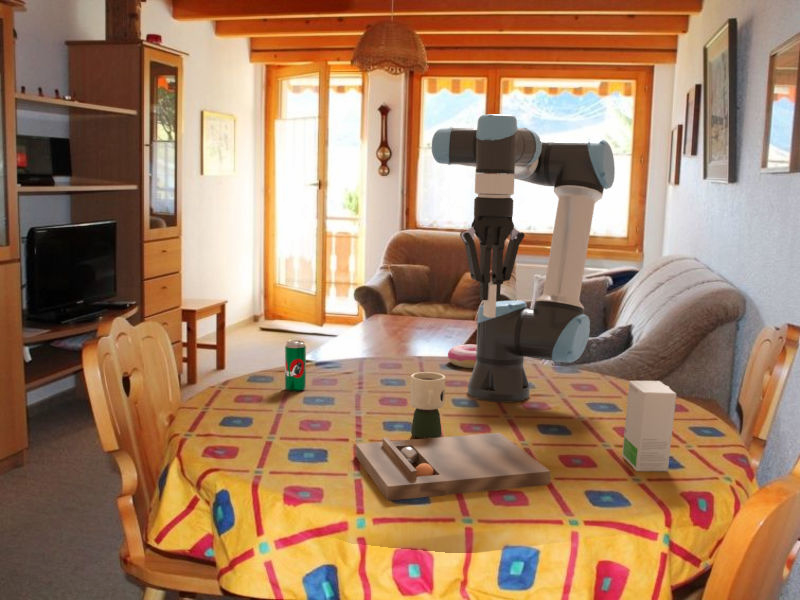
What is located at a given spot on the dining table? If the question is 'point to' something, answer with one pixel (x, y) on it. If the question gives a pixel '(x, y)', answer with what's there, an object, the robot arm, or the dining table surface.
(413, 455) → the steel ball
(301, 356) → the soda can
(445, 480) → the walnut board
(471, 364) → the donut
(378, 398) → the dining table surface
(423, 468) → the rust ball
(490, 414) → the dining table surface
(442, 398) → the character mug
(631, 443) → the skincare box
